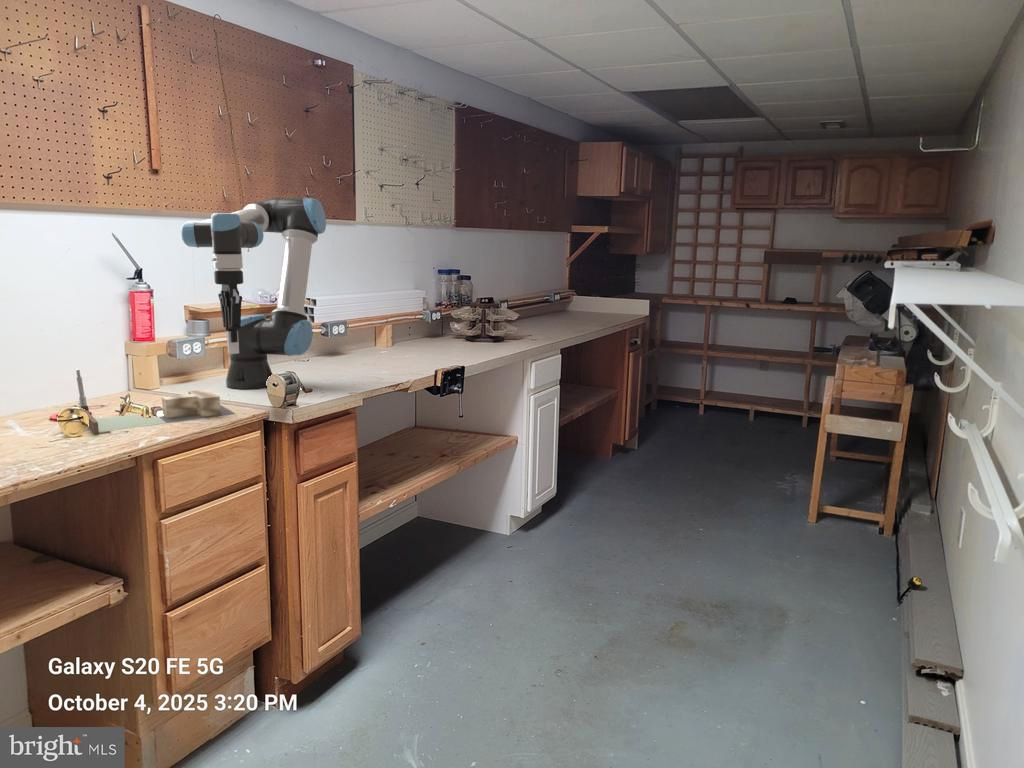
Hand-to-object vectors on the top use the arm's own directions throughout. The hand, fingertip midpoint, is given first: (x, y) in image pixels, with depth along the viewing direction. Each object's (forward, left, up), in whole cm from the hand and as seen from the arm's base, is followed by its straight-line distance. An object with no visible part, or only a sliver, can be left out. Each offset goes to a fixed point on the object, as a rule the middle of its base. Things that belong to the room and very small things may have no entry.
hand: (233, 353), depth 212 cm
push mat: (+20, 0, -16) cm, 26 cm away
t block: (+13, 0, -16) cm, 20 cm away
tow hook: (+40, -16, -17) cm, 46 cm away
